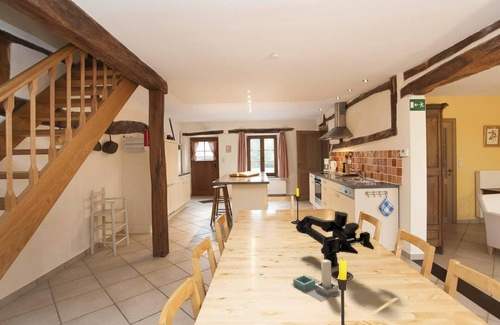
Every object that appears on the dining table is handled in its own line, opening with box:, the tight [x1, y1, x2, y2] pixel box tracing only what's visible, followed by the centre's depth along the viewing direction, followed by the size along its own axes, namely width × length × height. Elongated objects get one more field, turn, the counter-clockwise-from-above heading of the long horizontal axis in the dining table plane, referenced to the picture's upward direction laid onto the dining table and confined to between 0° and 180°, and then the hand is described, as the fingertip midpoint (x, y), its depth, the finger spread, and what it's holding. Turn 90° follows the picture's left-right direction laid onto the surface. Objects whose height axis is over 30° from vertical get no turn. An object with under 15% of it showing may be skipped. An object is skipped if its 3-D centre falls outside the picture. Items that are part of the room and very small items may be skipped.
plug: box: [320, 259, 332, 290], centre depth 115 cm, size 4×4×13 cm
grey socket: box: [315, 281, 339, 297], centre depth 115 cm, size 7×7×2 cm
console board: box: [290, 276, 342, 303], centre depth 118 cm, size 18×13×1 cm
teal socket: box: [292, 274, 315, 290], centre depth 120 cm, size 7×7×2 cm
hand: (365, 250), depth 120 cm, fingers open, 9 cm apart
